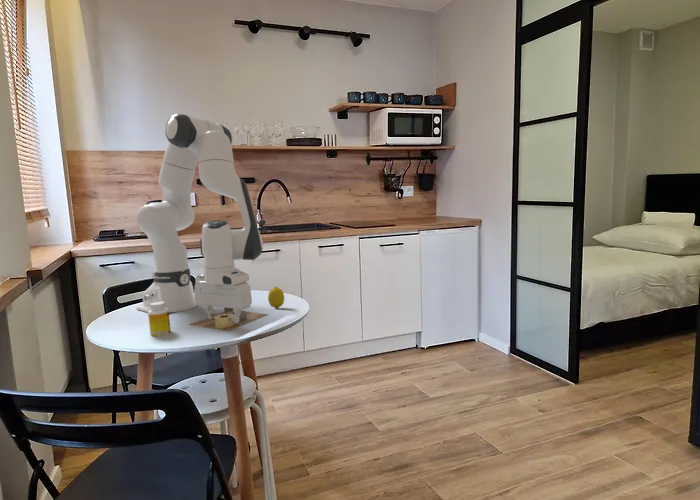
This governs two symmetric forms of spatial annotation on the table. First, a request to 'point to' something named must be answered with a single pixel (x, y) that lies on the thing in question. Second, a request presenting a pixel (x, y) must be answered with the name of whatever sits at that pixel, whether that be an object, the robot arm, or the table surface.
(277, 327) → the table surface
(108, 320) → the table surface
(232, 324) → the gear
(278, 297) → the lemon
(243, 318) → the plate
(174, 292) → the robot arm
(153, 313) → the supplement bottle
